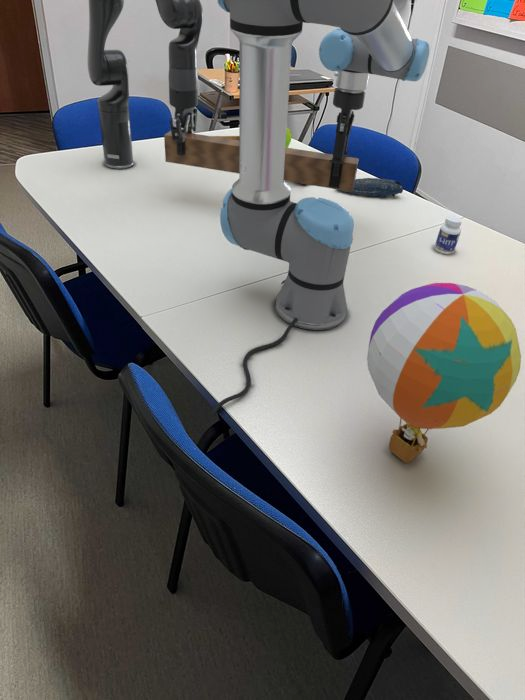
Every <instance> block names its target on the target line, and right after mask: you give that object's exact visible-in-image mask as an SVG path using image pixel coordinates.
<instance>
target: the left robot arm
mask: <svg viewBox="0 0 525 700" xmlns="http://www.w3.org/2000/svg"><path fill="white" fill-rule="evenodd" d="M124 4H125V0H88V43H87V71H88V76H89V79H90V81H91V83H92V84H93V85H95V86H98V87H104V86H105V87H106V86H112V87H111V88H110V90H109V91H108V92H106V93H104V94H103V95H101V96H100V97H98V99H97V109H98V116H99V117H98V118H99V125H100V126H99V127H100V134H101V143H102V151H103V160H104V161H103V162H104V166H105V167H108V168H110V169H117V170H119V169H120V170H121V169H122V170H123V169H129V168H131V167H133V166H134V164H135V163H134V153H133V140H132V128H131V116H130V89H129V87H130V85H129V67H128V61H127V57H126V55H125V53H124V52H123V51H122V50H120V49H105V47H106V42H107V40H108V39H107V38H108V36H109V33H110V32H111V30H112V28H113V27H114V25H115V24H116V22H117V20H118V19H119V17H120V15H121V13H122V11H123V8H124ZM155 4H156V7H157V8H156V9H157V11H158V14H159V17H160V18H161V20H162V22H163V23H164V24H165V26H167V27H168V28H169V29H170V28H171V29H173V30H179V32H178V36H177V37H175V38H173V39H171V40H170V41H169V43H168V99H169V101H168V102H169V104H170V106H171V107H173V108H174V117H173V118H170V119H169V125H170V126H169V127H170V131H171V133H172V140H174V141H177V154H178V155H181V156H184V155H185V135H186V133H193V134H195V132H196V131H197V121H198V108H196V107H198V105H199V76H198V65H197V64H198V58H197V57H198V56H197V55H198V53H197V52H198V51H197V49H198V45H199V41H200V37H201V32H202V28H203V21H204V9H203V5H202V2H201V1H200V0H155ZM175 133H176V134H175Z"/></svg>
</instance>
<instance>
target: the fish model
mask: <svg viewBox="0 0 525 700" xmlns="http://www.w3.org/2000/svg"><path fill="white" fill-rule="evenodd" d="M336 190H337V191H339V190H338V189H336ZM340 191H341V192H344V193H347V194H352V195H357V196H366V197H367V196H368V197H379V198H380V197H381V198H386V197H388V196H391V197H396V196H397V195H399V194H402V193H403V191H404V187H403V185H402V182H401V181H397V180H393V179H388V178H379V177H364V178H355V184H354V188H353V190H352V192H351V191H344V190H340Z"/></svg>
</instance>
